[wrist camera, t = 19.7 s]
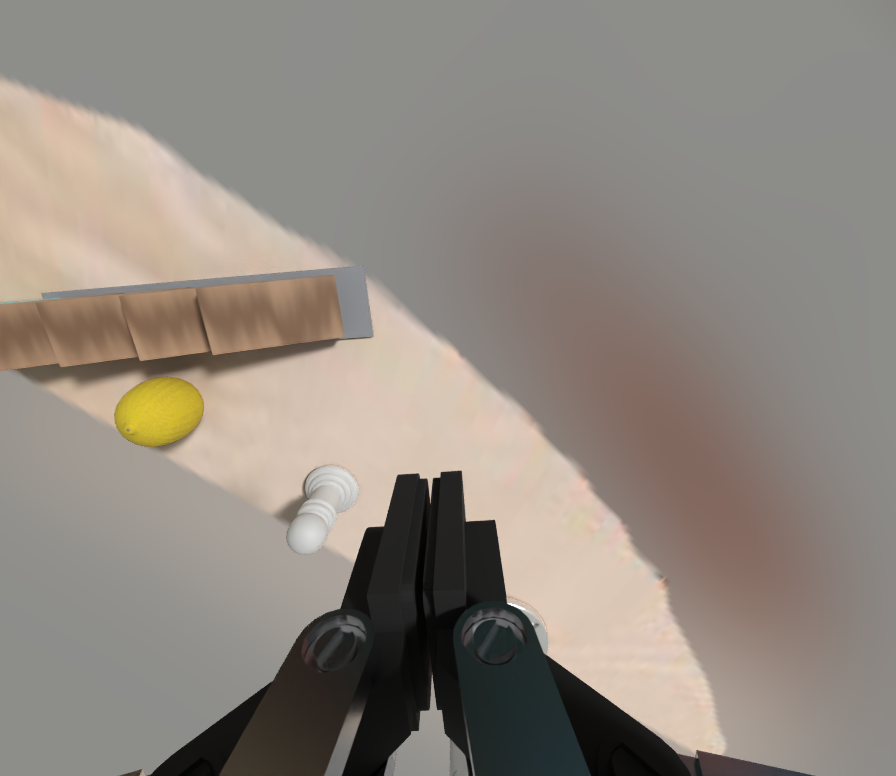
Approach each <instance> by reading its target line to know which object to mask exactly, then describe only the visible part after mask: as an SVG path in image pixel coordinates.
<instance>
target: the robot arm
mask: <svg viewBox="0 0 896 776" xmlns="http://www.w3.org/2000/svg"><path fill="white" fill-rule="evenodd" d="M548 647H549V639H548V633H547V630H546V626H545V624H544V622H543V620H542V618H541V617H540V616H539V615H538V613H537V612H536V611H535V610H534V609H532V608H531V607H530V606H528V605H526V604H524V603H522V602H520V601H518V600H515V599H512V598H508V597H506V591H505V584H504V577H503V571H502V564H501V557H500V550H499V543H498V536H497V529H496V523H495V520H487V521H470V522H466V518H465V505H464V493H463V481H462V471H450V472H441V477H440V478H433V484H432V494H431V504H430V497H429V488H428V480H427V479H420V476H419V473H418V474H403V475H398V476H397V479H396V483H395V486H394V490H393V494H392V498H391V502H390V506H389V510H388V514H387V518H386V521H385V525H384V527H368V528H367V529H366V531H365V533H364V536H363V540H362V543H361V546H360V549H359V552H358V555H357V558H356V561H355V565H354V568H353V571H352V574H351V577H350V580H349V583H348V587H347V590H346V593H345V596H344V599H343V602H342V606H341V608H340V609H337V610H334V611H330V612H327V613H325V614H323V615H321V616H319V617H318V618H316V619H314V620H313V621H312V622H311V623H310V624H308V625H307V626H306V627H305V628H304V629H303V631H302V632H301V634H300V635H299V636H298V638H297V639H296V641H295V643H294V644H293V646H292V648H291V650H290V651H289V653H288V655H287V657H286V659H285V660H284V662H283V664H282V666H281V667H280V669H279V671H278V673H277V674H276V676H275V678H274V680H273V681H272V682H270V683H269V684H268V685H266V686H265V687H264V688H262V689H261V690H260V691H258V692H257V693H255V694H254V695H253V696H251V697H250V698H249V699H247V700H246V701H245V702H243V703H242V704H241V705H239V706H238V707H237V708H235V709H234V710H233V711H231V712H230V713H228V714H227V715H226V716H224V717H223V718H222V719H220V720H219V721H217V722H216V723H215V724H213V725H212V726H211V727H209V728H208V729H207V730H205V731H204V732H203V733H201V734H200V735H199V736H197V737H196V738H195V739H193V740H192V741H190V742H189V743H188V744H186V745H185V746H184V747H182V748H181V749H180V750H178V751H177V752H176V753H174V754H173V755H171V756H170V757H169V758H168V759H167V760H166V761H165V762H164V763H162V764H161V765H160V766H159V767H158V768H157V769H156V770H155V771H154V772H153V773H152V774H151V775H147V776H393V774H394V770H395V764H396V755H397V753H396V749H397V748H398V747H399V746H400V745H401V744H402V743H403V742H404V741H405V740H406V739H407V738H408V737H409V736H410V735H411V731H418V730H419V720H420V711H426V710H429V708H430V696H431V678H432V675H433V682H434V690H435V698H436V705H437V710H442V714H443V721H444V729H445V734H446V735H447V736H448V737H449V738H450V776H814V775H810V774H805V773H800V772H795V771H791V770H786V769H782V768H777V767H773V766H768V765H763V764H759V763H754V762H750V761H745V760H740V759H736V758H731V757H726V756H722V755H717V754H712V753H708V752H703V751H699V750H696V755H695V757H691V756H686V755H682V754H677V753H676V752H675V751H674V750H673V749H672V748H671V747H670V746H669V745H667V744H666V743H665V742H664V741H663V740H662V739H661V738H660V737H658V736H657V735H656V734H654V733H653V732H651V731H650V730H649V729H647V728H646V727H645V726H643V725H642V724H640V723H639V722H638V721H636V720H635V719H634V718H632V717H631V716H629V715H628V714H627V713H625V712H624V711H623V710H621V709H620V708H618V707H617V706H616V705H614V704H613V703H612V702H610V701H609V700H608V699H606V698H605V697H603V696H602V695H601V694H599V693H598V692H597V691H595V690H594V689H592V688H591V687H590V686H588V685H587V684H586V683H584V682H583V681H581V680H580V679H579V678H577V677H576V676H575V675H573V674H572V673H570V672H569V671H568V670H566V669H565V668H564V667H562V666H561V665H560V664H558V663H557V662H555V661H554V660H553V659H551V658H550V657H549V656H547V652H548ZM120 776H145V773H144V771H143V770H142V769H140V770H137V771H134V772H130V773H127V774H123V775H120Z"/></svg>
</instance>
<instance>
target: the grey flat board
mask: <svg viewBox="0 0 896 776" xmlns="http://www.w3.org/2000/svg"><path fill="white" fill-rule="evenodd" d="M326 275H335V280H336V287H337V293H338V299H339V305H340V312H341V318H342V324H343V330H344V337H342V338H335V339H347V338H359V337H372V336H373V329H372V322H371V314H370V307H369V300H368V293H367V286H366V279H365V272H364V266H354V267H343V268H331V269H319V270H308V271H296V272H284V273H273V274H261V275H249V276H238V277H226V278H214V279H203V280H191V281H179V282H168V283H156V284H144V285H133V286H121V287H109V288H98V289H86V290H74V291H63V292H51V293H41V294H42V297H43V299H50V298H71V297H81V296H92V295H102V294H113V293H133V292H144V291H154V290H164V289H174V288H185V287H192V288H196V287H206V286H216V285H226V284H237V283H247V282H257V281H273V280H284V279H294V278H305V277H316V276H326ZM327 340H334V339H327ZM320 341H321V340H320Z"/></svg>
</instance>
